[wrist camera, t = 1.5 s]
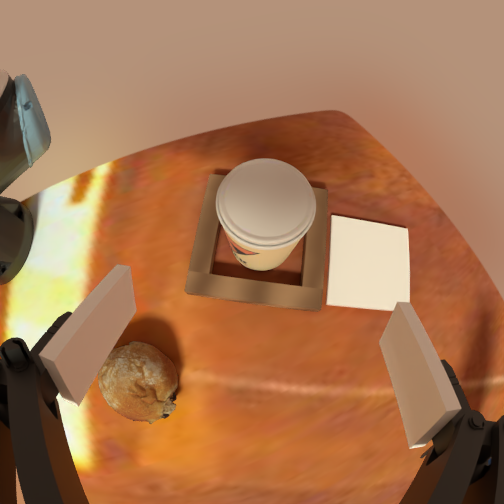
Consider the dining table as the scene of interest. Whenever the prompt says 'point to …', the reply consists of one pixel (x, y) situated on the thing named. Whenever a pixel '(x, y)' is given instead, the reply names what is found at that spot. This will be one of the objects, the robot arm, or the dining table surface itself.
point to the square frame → (252, 290)
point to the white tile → (367, 264)
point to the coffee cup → (265, 211)
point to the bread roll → (139, 382)
